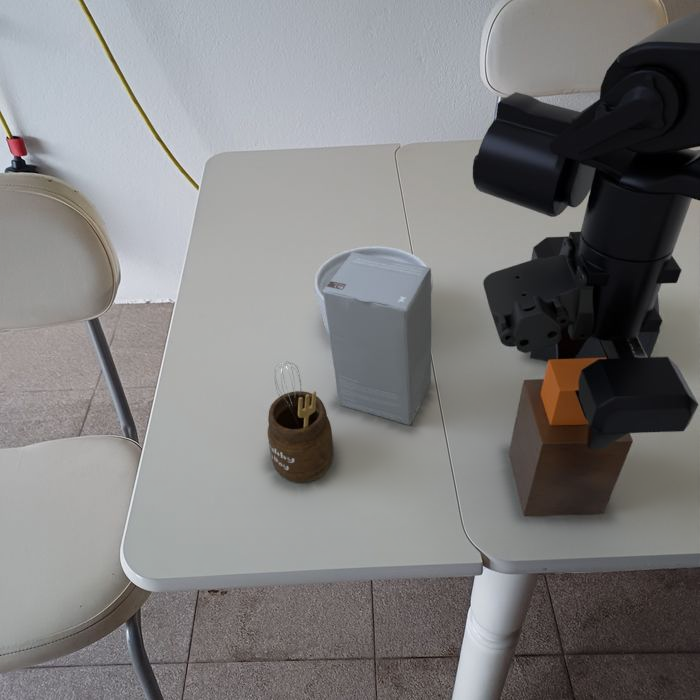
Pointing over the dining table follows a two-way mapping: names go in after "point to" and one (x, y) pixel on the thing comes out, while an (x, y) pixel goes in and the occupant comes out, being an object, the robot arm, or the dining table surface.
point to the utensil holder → (299, 435)
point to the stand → (560, 462)
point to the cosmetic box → (380, 335)
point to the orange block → (564, 391)
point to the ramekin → (337, 261)
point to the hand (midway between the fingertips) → (578, 402)
